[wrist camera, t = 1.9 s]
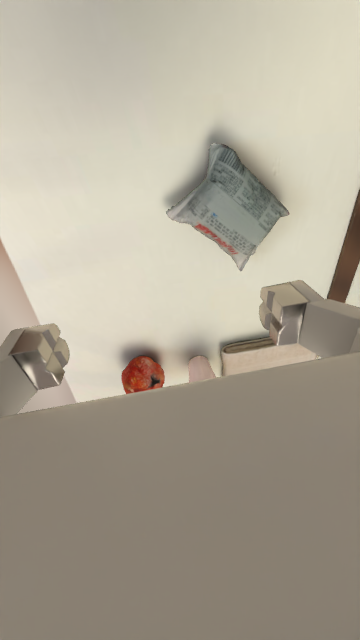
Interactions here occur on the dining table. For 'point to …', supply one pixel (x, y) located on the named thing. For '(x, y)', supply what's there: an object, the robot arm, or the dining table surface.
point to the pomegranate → (142, 375)
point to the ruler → (347, 258)
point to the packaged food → (230, 206)
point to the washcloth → (261, 355)
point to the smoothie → (200, 369)
